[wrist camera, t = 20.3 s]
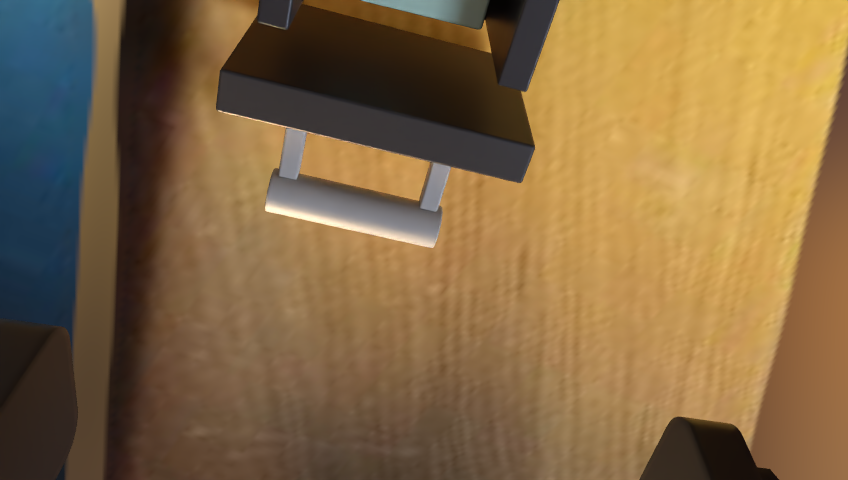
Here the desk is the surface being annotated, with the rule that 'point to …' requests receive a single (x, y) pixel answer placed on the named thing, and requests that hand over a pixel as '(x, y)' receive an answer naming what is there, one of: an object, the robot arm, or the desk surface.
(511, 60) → the drawer
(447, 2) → the block
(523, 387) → the desk surface
